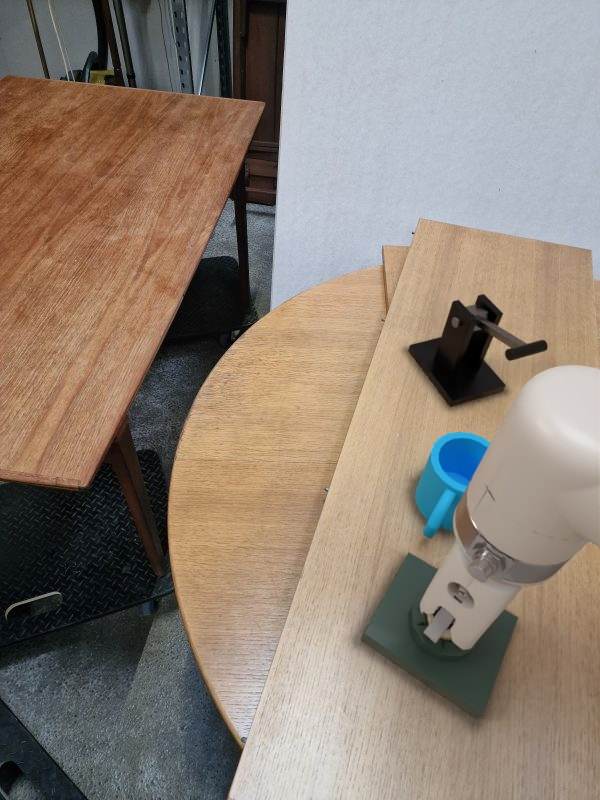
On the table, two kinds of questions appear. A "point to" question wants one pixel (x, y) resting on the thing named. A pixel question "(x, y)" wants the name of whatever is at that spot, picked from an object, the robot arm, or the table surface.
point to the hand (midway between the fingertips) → (445, 616)
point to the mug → (447, 478)
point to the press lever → (506, 336)
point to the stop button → (446, 635)
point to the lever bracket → (460, 355)
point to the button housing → (442, 661)
